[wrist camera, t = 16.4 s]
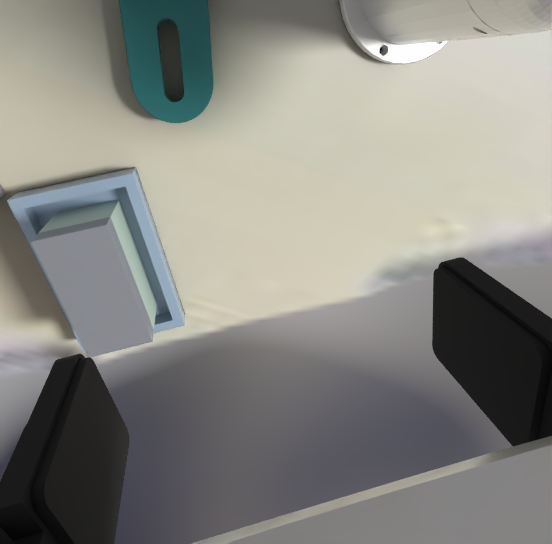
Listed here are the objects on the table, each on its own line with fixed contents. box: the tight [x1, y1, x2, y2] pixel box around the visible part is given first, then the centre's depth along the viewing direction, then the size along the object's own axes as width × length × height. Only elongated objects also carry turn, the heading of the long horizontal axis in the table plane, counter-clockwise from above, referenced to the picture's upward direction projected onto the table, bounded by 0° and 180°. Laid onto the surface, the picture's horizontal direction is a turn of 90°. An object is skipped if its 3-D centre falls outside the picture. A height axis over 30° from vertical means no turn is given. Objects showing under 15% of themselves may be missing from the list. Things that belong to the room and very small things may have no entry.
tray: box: [7, 167, 185, 351], centre depth 41 cm, size 11×17×2 cm, turn 10°
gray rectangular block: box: [31, 200, 157, 357], centre depth 39 cm, size 6×12×7 cm, turn 10°
